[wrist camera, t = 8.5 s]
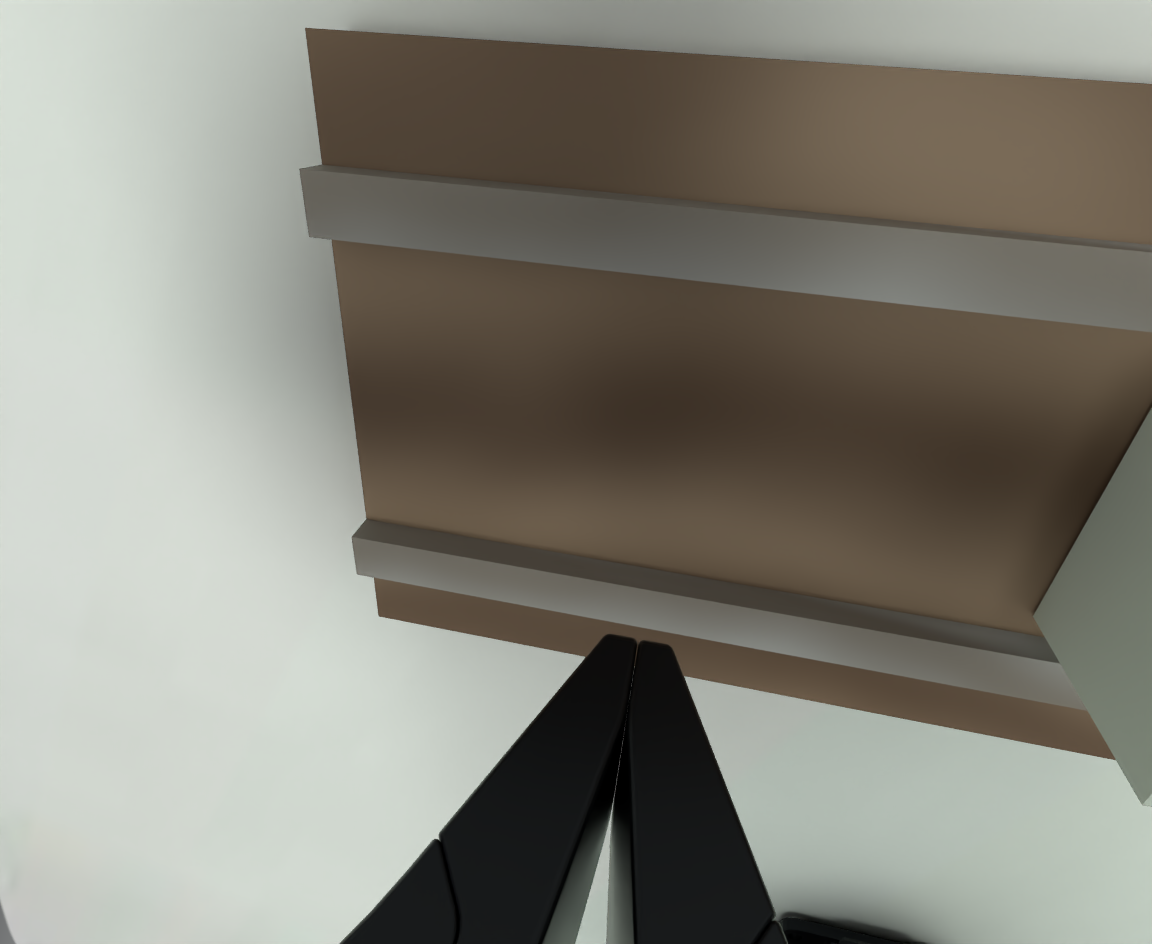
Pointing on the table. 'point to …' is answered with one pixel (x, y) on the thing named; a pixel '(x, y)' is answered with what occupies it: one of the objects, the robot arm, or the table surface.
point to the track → (739, 356)
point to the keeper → (1112, 614)
